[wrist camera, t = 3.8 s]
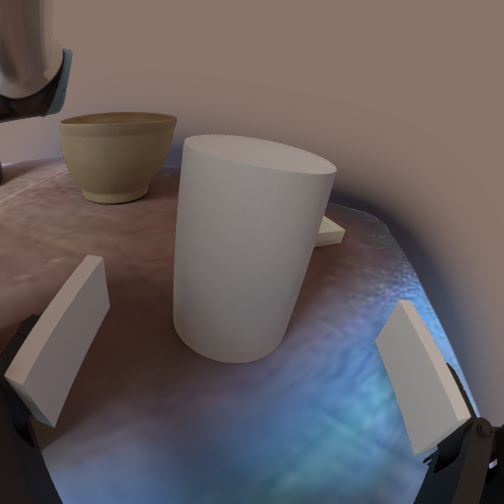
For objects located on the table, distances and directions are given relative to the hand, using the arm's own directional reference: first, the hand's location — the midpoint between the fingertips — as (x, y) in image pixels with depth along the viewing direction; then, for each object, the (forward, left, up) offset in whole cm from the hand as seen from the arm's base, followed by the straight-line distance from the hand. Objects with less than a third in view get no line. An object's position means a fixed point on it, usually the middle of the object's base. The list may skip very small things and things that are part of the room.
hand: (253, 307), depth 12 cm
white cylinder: (-6, +3, -7) cm, 9 cm away
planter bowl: (-33, -2, -7) cm, 33 cm away
